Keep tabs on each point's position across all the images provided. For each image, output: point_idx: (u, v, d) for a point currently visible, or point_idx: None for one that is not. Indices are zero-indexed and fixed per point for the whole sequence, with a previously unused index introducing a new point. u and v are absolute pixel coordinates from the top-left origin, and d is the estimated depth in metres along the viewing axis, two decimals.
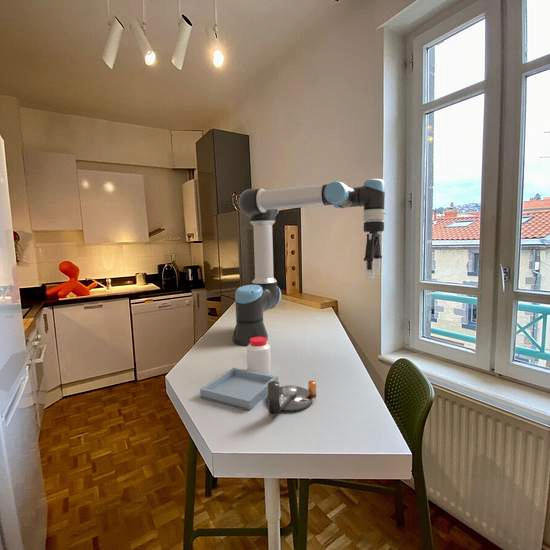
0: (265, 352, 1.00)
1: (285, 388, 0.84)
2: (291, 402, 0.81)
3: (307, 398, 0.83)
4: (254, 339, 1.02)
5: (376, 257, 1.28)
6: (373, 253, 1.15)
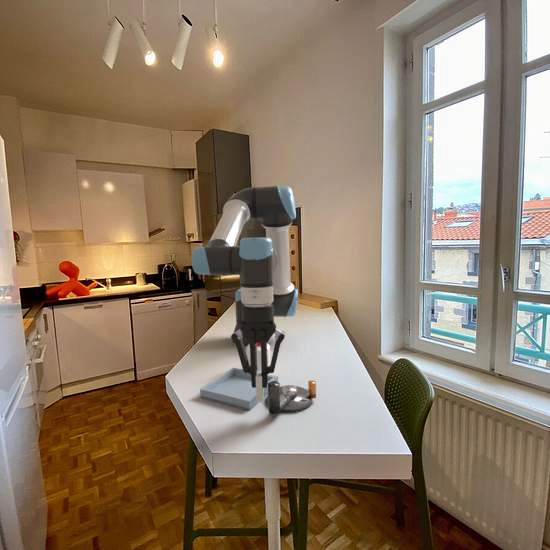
0: None
1: (285, 388, 0.84)
2: (291, 402, 0.81)
3: (307, 398, 0.83)
4: None
5: (262, 372, 0.75)
6: None
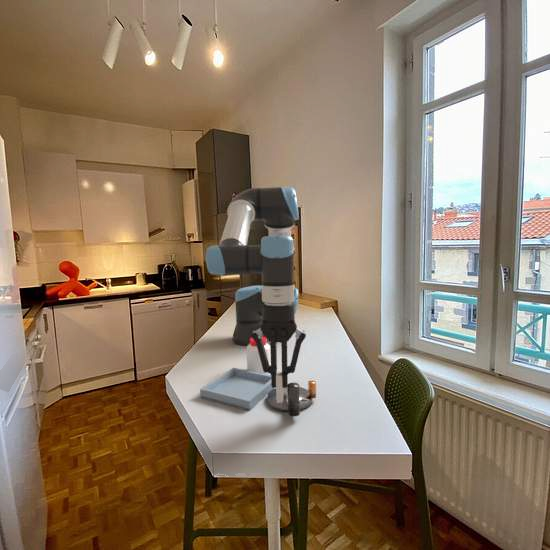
0: None
1: (286, 389, 0.84)
2: None
3: (307, 398, 0.83)
4: None
5: (282, 371, 0.75)
6: (271, 363, 0.73)
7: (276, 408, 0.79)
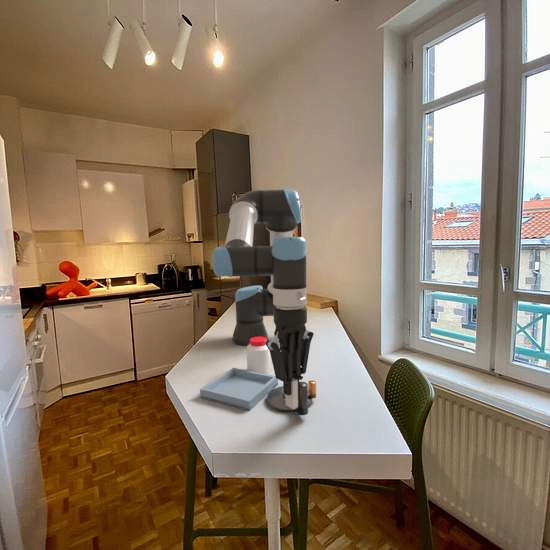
0: (265, 352, 1.00)
1: None
2: None
3: None
4: (254, 339, 1.02)
5: (293, 376, 0.73)
6: (288, 370, 0.70)
7: (276, 408, 0.79)
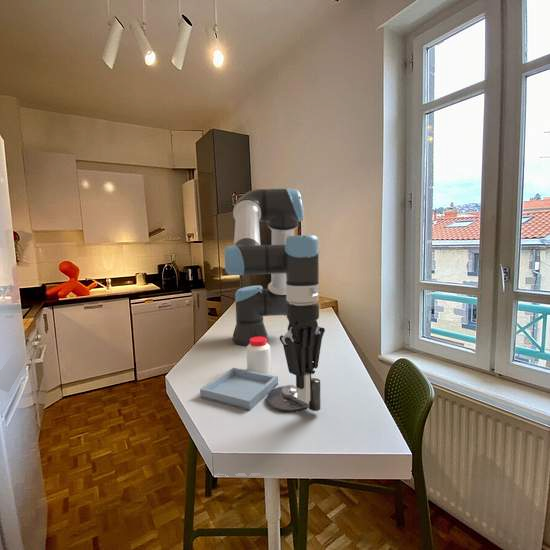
0: (265, 352, 1.00)
1: (287, 390, 0.83)
2: (291, 402, 0.81)
3: None
4: (254, 339, 1.02)
5: (305, 370, 0.75)
6: (301, 364, 0.72)
7: (276, 408, 0.79)
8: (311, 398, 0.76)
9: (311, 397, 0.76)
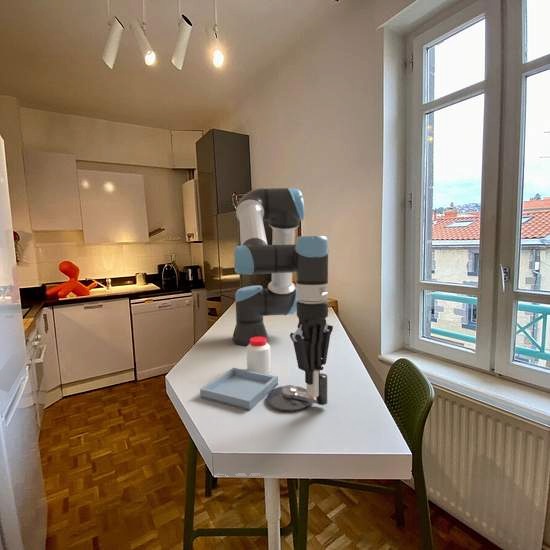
0: (265, 352, 1.00)
1: (289, 390, 0.83)
2: (291, 402, 0.81)
3: None
4: (254, 339, 1.02)
5: (314, 367, 0.77)
6: (311, 361, 0.75)
7: (276, 408, 0.79)
8: (320, 393, 0.78)
9: (320, 392, 0.78)
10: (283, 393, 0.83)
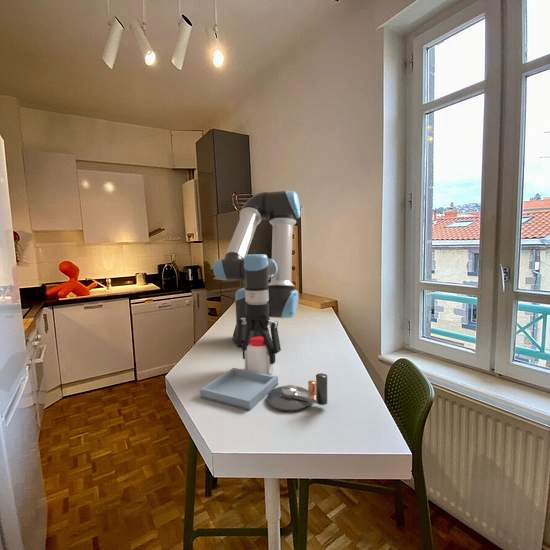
0: (265, 352, 1.00)
1: (289, 390, 0.83)
2: (291, 402, 0.81)
3: None
4: (254, 339, 1.02)
5: None
6: (244, 342, 1.04)
7: (276, 408, 0.79)
8: (320, 393, 0.78)
9: (320, 392, 0.78)
10: (283, 393, 0.83)
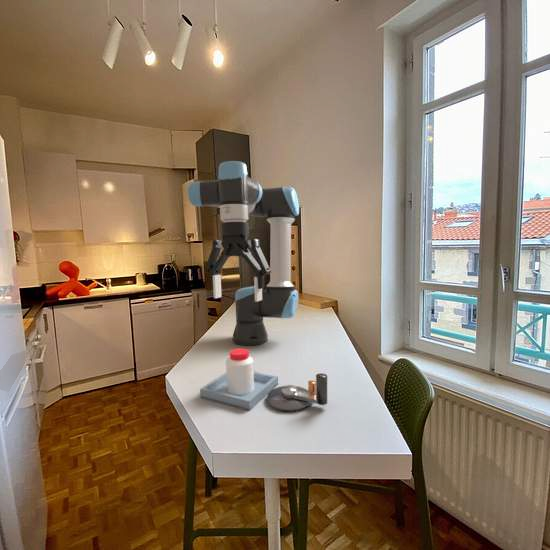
0: (247, 367, 0.86)
1: (289, 390, 0.83)
2: (291, 402, 0.81)
3: None
4: (235, 352, 0.88)
5: None
6: (214, 265, 0.88)
7: (276, 408, 0.79)
8: (320, 393, 0.78)
9: (320, 392, 0.78)
10: (283, 393, 0.83)
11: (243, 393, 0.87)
